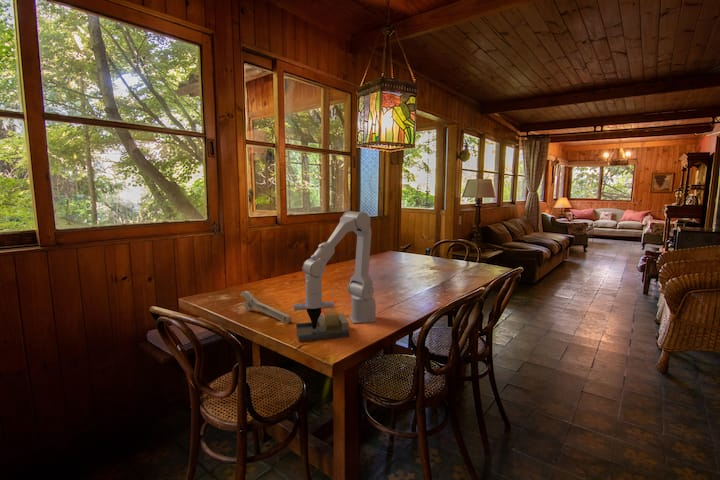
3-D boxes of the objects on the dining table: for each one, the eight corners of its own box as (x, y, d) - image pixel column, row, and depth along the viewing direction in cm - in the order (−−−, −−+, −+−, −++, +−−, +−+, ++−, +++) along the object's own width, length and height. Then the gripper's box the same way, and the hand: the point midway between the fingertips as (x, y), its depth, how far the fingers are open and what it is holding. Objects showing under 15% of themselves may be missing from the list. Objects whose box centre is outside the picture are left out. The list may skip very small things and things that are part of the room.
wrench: (287, 330, 146) (239, 307, 162) (290, 329, 147) (242, 306, 164) (288, 311, 144) (240, 290, 160) (292, 310, 146) (243, 289, 162)
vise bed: (343, 324, 144) (342, 312, 144) (349, 337, 133) (349, 323, 132) (296, 328, 140) (296, 315, 139) (298, 341, 129) (298, 328, 128)
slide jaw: (322, 323, 141) (322, 315, 141) (326, 333, 132) (326, 324, 131) (316, 324, 141) (316, 315, 140) (319, 334, 131) (319, 325, 131)
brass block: (337, 326, 140) (336, 311, 139) (338, 330, 136) (338, 314, 135) (323, 327, 138) (323, 312, 138) (325, 331, 135) (325, 315, 134)
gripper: (331, 287, 139) (331, 322, 141) (292, 290, 136) (293, 325, 138) (334, 293, 132) (335, 329, 134) (293, 295, 129) (294, 332, 131)
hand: (314, 327), depth 136 cm, fingers closed
